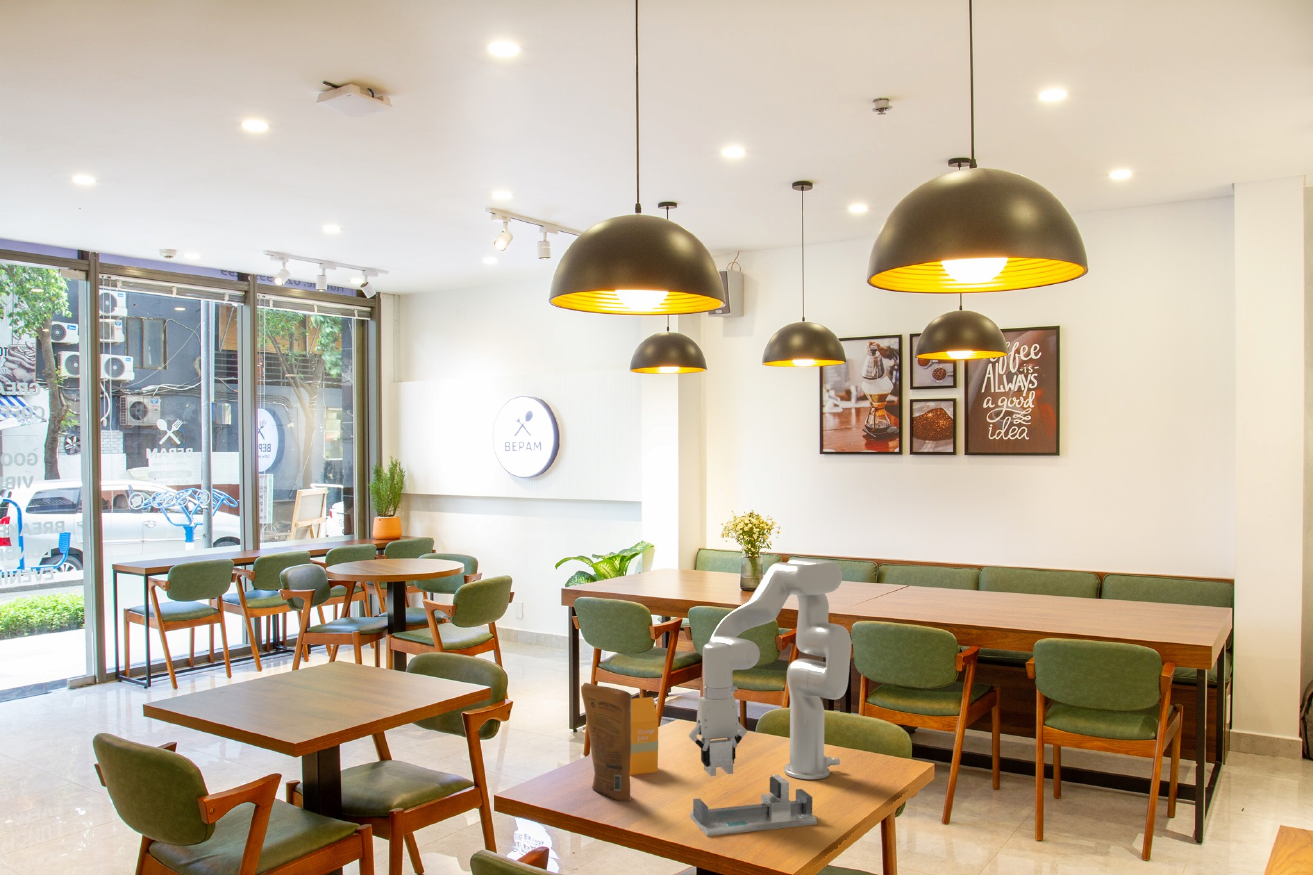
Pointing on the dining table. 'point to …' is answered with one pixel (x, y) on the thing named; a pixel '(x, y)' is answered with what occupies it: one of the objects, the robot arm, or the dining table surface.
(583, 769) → the dining table surface
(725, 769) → the notched grey block
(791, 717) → the robot arm
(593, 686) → the pancake mix bag
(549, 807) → the dining table surface
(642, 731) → the orange juice
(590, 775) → the dining table surface
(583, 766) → the dining table surface
